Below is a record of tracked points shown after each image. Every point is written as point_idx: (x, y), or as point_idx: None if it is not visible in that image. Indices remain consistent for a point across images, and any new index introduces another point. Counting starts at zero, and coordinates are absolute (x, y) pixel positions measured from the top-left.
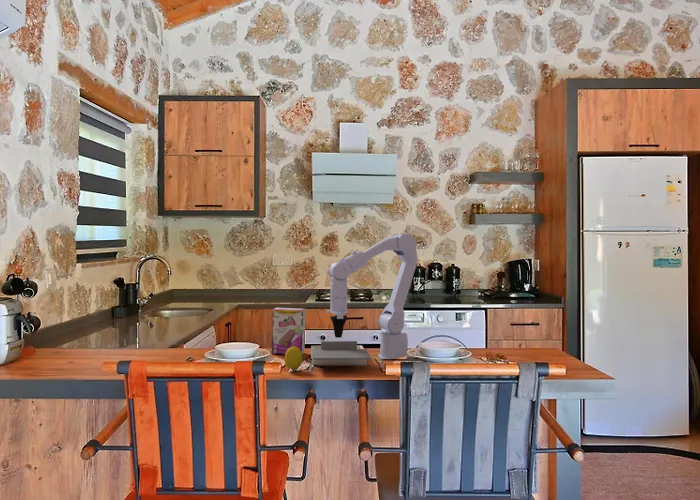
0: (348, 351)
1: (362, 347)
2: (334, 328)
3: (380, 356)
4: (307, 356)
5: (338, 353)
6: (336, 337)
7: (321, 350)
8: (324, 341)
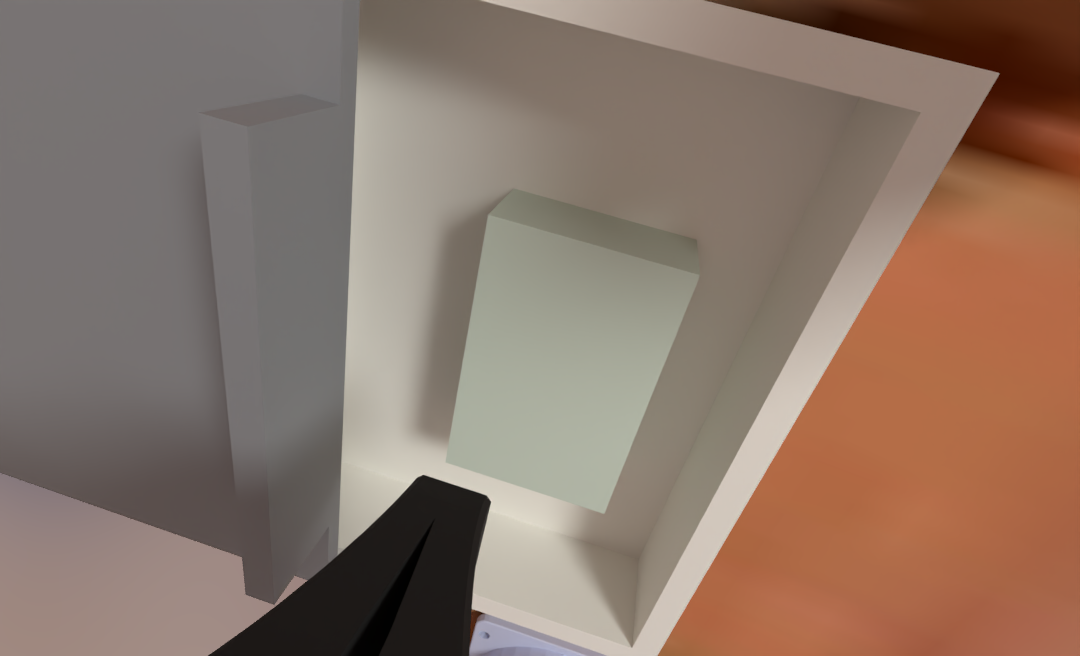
0: (180, 398)
1: (545, 630)
2: (277, 607)
3: (551, 649)
4: (1004, 12)
5: (42, 248)
6: (416, 485)
7: (213, 72)
8: (219, 188)
